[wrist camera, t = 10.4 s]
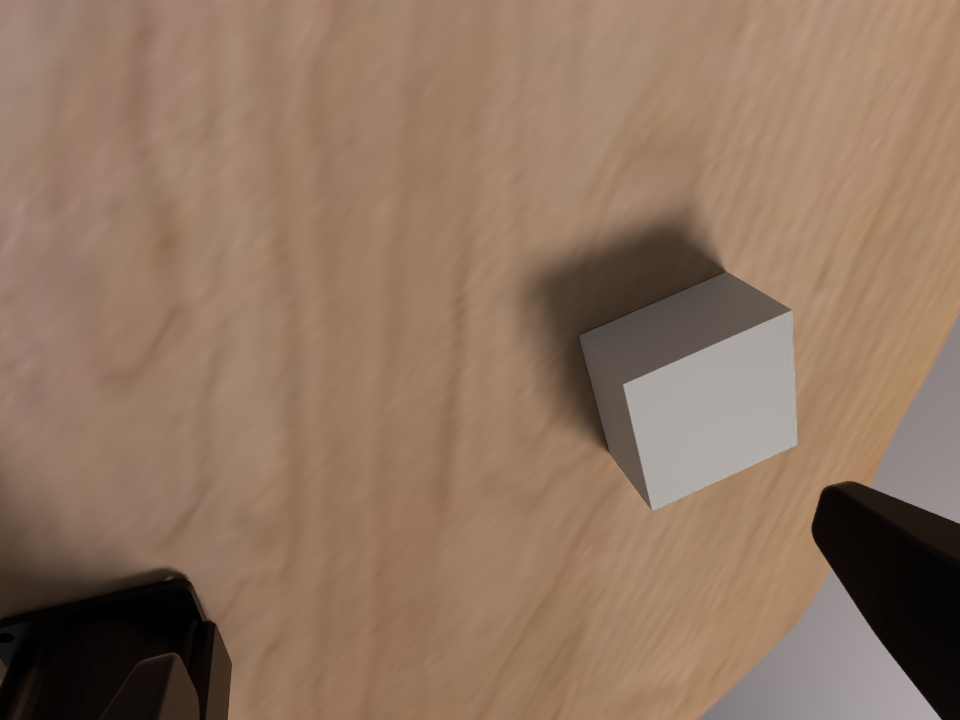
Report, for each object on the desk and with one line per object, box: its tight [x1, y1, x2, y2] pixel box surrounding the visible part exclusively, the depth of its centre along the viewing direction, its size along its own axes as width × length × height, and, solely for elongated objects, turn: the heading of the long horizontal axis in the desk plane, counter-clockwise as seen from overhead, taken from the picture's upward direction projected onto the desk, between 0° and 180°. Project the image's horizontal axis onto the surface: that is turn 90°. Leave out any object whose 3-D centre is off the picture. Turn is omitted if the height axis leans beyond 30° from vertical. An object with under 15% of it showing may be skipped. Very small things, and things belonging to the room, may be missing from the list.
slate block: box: [579, 272, 797, 511], centre depth 23 cm, size 6×6×4 cm
